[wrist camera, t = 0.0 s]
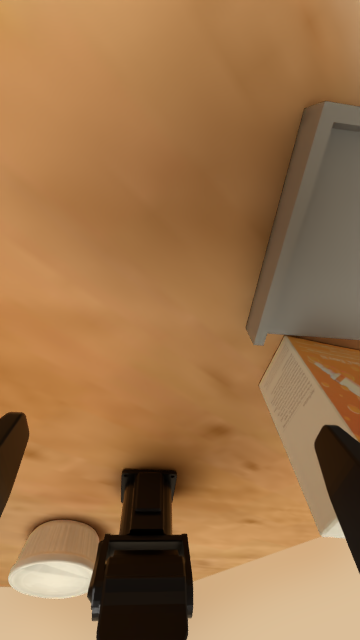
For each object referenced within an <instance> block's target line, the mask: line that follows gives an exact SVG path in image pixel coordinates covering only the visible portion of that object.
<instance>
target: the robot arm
mask: <svg viewBox="0 0 360 640" xmlns="http://www.w3.org/2000/svg"><path fill="white" fill-rule="evenodd" d="M28 439H29V428H28V424H27V419H26V415H25V414H24V413H22V412H9V413H7V414H5V415H4V416H3V417H1V418H0V517H1V515H2V512H3V510H4V508H5V506H6V503H7V501H8V498H9V496H10V493H11V490H12V488H13V485H14V482H15V479H16V476H17V473H18V470H19V466H20V463H21V460H22V457H23V454H24V451H25V448H26V445H27V442H28ZM314 448H315V452H316V455H317V459H318V462H319V465H320V469H321V472H322V475H323V479H324V482H325V485H326V489H327V492H328V495H329V498H330V501H331V503H332V506H333V509H334V511H335V514H336V516H337V519H338V521H339V523H340V526H341V528H342V531H343V533H344V536H345V538H346V541H347V543H348V546H349V548H350V551H351V553H352V556H353V558H354V561H355V563H356V565H357V568H358V571H359V573H360V442H358V441H357V440H356V439H355V438H353V437H352V436H351V435H349V434H348V433H347V432H346V431H344V430H343V429H342V428H341V427H339V426H337V425H324V426H322V428H321V430H320V432H319V434H318V435H317V437H316V439H315V442H314ZM176 478H177V472H175V471H156V470H124V471H122V481H121V502H122V503H123V507H122V516H121V524H120V532H119V535H110V534H105V537H104V540H103V541H101V542H99V544H98V550H97V555H96V561H95V565H94V569H93V573H92V577H91V581H90V584H89V588H88V595H87V597H88V599H89V600H90V602H91V610H92V621H98V627H97V637H96V638H97V640H186V639H187V636H188V618H191V617H192V613H193V580H192V570H191V562H190V554H189V546H188V537H187V534H182V535H172V500H173V495H174V489H175V484H176Z"/></svg>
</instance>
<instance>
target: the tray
mask: <svg viewBox="0 0 360 640" xmlns="http://www.w3.org/2000/svg"><path fill="white" fill-rule="evenodd" d="M246 330H247V332H248V334H249V336H250V338H251V340H252V343H253V345H264V342H265V339H266V336H267V333H269V334H282V335H296V336H310V337H324V338H338V339H351V340H360V107H359V106H352V105H346V104H340V103H334V102H328V101H324V102H321V103H319V104H316V105H313V106H310V107H307V108H305V109H304V112H303V115H302V119H301V123H300V127H299V130H298V134H297V138H296V142H295V145H294V149H293V153H292V157H291V160H290V164H289V168H288V172H287V175H286V179H285V183H284V186H283V190H282V194H281V198H280V201H279V205H278V209H277V213H276V216H275V220H274V224H273V228H272V231H271V235H270V239H269V243H268V246H267V250H266V254H265V258H264V261H263V265H262V269H261V273H260V276H259V280H258V284H257V287H256V291H255V295H254V299H253V302H252V306H251V310H250V314H249V317H248V321H247V325H246Z"/></svg>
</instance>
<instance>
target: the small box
mask: <svg viewBox="0 0 360 640" xmlns="http://www.w3.org/2000/svg"><path fill="white" fill-rule="evenodd" d="M259 387H260V390H261V392H262V395H263V397H264V400H265V402H266V404H267V407H268V409H269V412H270V414H271V417H272V419H273V421H274V424H275V426H276V429H277V431H278V434H279V436H280V438H281V440H282V443H283V445H284V448H285V450H286V453H287V455H288V458H289V460H290V463H291V465H292V467H293V470H294V472H295V475H296V477H297V479H298V482H299V484H300V486H301V489H302V491H303V494H304V496H305V499H306V501H307V503H308V506H309V508H310V511H311V513H312V516H313V518H314V521H315V523H316V526H317V528H318V531H319V533H320V535H321V536H322V537H336V538H345V536H344V533H343V531H342V528H341V526H340V523H339V521H338V519H337V516H336V514H335V511H334V509H333V506H332V503H331V501H330V498H329V495H328V492H327V489H326V485H325V482H324V479H323V475H322V472H321V469H320V465H319V462H318V459H317V455H316V452H315V448H314V442H315V439H316V437H317V435H318V434H319V432H320V430H321V428H322V426H324V425H337V426H339V427H341V428H342V429H343V430H344V431H346V432H347V433H348V434H349V435H351V436H352V437H353V438H355V439H356V440H357V441H358V442H360V350H354V349H348V348H343V347H338V346H333V345H329V344H324V343H319V342H315V341H310V340H306V339H301V338H297V337H293V336H289V335H285V336H284V338H283V340H282V342H281V344H280V345H279V347H278V349H277V351H276V353H275V355H274V357H273V359H272V361H271V363H270V364H269V366H268V368H267V370H266V372H265V374H264V376H263V378H262V380H261V382H260V384H259Z"/></svg>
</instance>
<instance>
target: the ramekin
mask: <svg viewBox="0 0 360 640" xmlns="http://www.w3.org/2000/svg"><path fill="white" fill-rule="evenodd" d="M98 544H99V537H98V535H97V533H96V531H95V530H94V529H93V528H92V527H90V526H89V525H87V524H84V523H82V522H78V521H73V520H54V521H49V522H46V523H43V524H41V525H40V526H38V527H37V528H36V529H35V530H34V531H33V532H32V533H31V534H30V535H29V537H28V539H27V541H26V543H25V545H24V547H23V549H22V551H21V553H20V555H19V557H18V559H17V561H16V563H15V564H14V565H13V567H12V568H11V571H10V574H9V577H8V581H9V584H10V585H11V586H12V588H14V589H15V590H17V591H19V592H21V593H23V594H27V595H30V596H34V597H41V598H51V599H52V598H53V599H63V598H70V597H75V596H79V595H82V594H85V593H87V592H88V588H89V584H90V581H91V577H92V573H93V569H94V565H95V561H96V555H97V550H98Z"/></svg>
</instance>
